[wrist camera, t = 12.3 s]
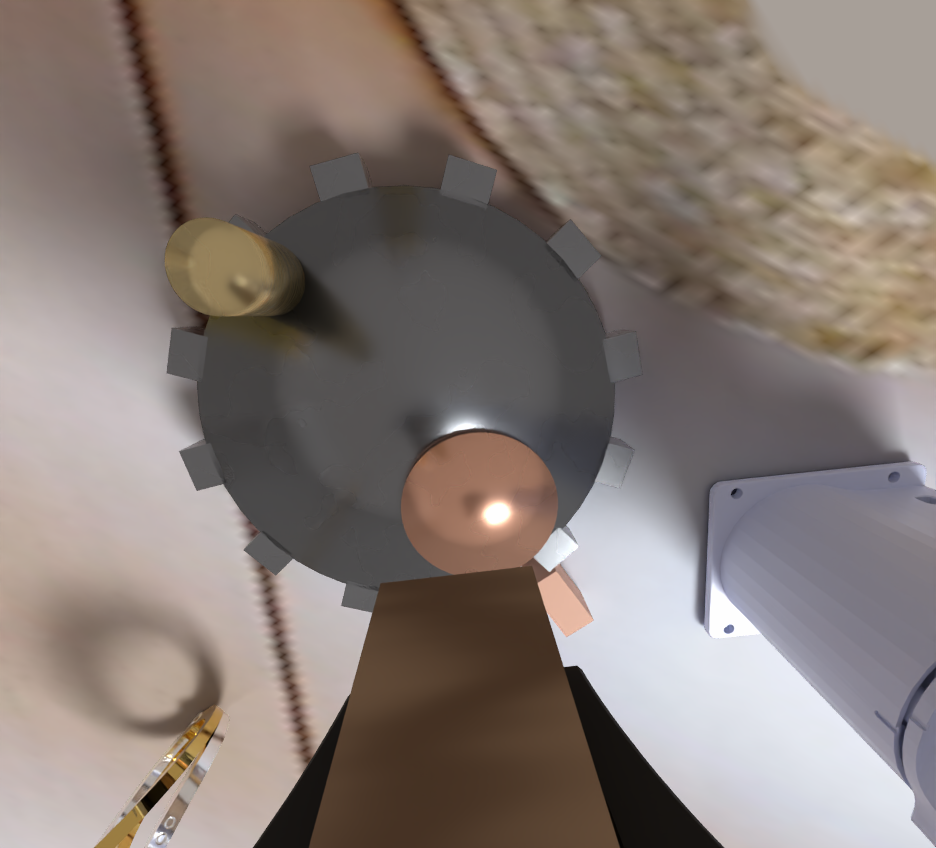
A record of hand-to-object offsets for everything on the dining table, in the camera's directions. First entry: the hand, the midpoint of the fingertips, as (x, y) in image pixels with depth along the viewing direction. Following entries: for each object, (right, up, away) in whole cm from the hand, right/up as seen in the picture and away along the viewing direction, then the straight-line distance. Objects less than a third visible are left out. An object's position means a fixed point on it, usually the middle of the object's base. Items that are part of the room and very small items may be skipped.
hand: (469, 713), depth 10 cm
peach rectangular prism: (+4, 0, +10) cm, 11 cm away
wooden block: (0, 0, +2) cm, 2 cm away
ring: (-13, -8, +12) cm, 20 cm away
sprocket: (-2, +8, +8) cm, 11 cm away
